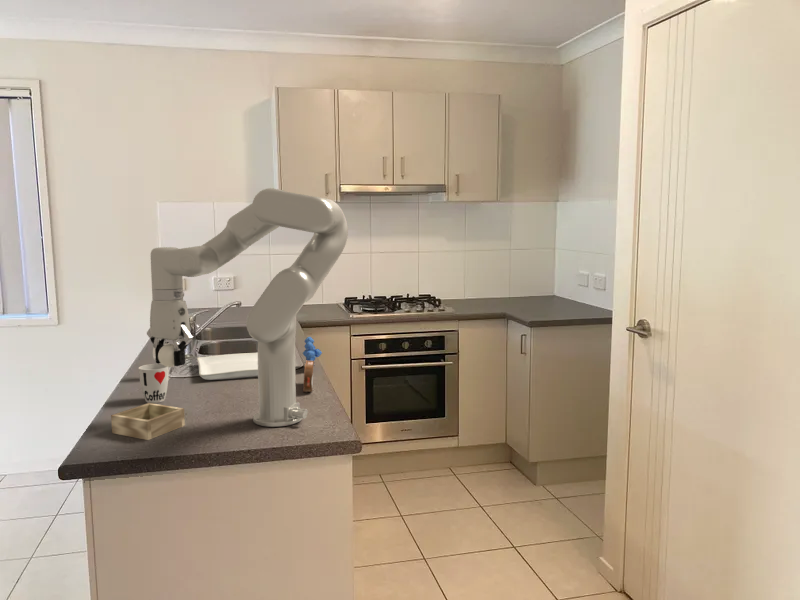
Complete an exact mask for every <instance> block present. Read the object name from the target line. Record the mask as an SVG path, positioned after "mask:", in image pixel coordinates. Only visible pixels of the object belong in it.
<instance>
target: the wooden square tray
mask: <svg viewBox="0 0 800 600" xmlns="http://www.w3.org/2000/svg"><path fill="white" fill-rule="evenodd" d="M185 416H186V414H185V408H183V407H176V406H170V405H164V404H160V403H159V404H157V403H147V402H146V403H145V404H141V405H138V406H136V407H133V408H129V409H126V410H123V411H120V412H117V413H114V414H110V417H111V418H110V420H111V421H110V422H111V434H116V435H120V436H124V437H125V436H126V437H131V438H135V439H141V440H146V441H150V440H152V439H155V438H157V437H160V436H162V435H164V434H167V433H169V432H172V431H176V430H177V429H181V428H183V427H185V426H186V421H185V420H186V419H185V418H186V417H185Z"/></svg>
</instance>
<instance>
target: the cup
mask: <svg viewBox="0 0 800 600" xmlns="http://www.w3.org/2000/svg"><path fill="white" fill-rule="evenodd" d="M169 368H170V367H166V366H164V365H162V364H161V363H159V364H157V363H152V364H151V363H150V364H143V365H141V366H139V367H138V376H139V383H140V389H141V392H142V395H143V397H144V400H145V402H146V404H147V403H153V404H157V403H161V402H164V401H165V400H166V397H167V391H168V385H169V380H168V377H169V373H170V372H169Z"/></svg>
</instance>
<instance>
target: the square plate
mask: <svg viewBox="0 0 800 600" xmlns="http://www.w3.org/2000/svg"><path fill="white" fill-rule="evenodd" d="M196 361H197V364H198V375H199V376H200V377H201V378H202V379H203V380H205V381H217V380H218V381H221V380H235V379H236V380H237V379H245V378H246V379H248V378H258V352H247V353H246V352H245V353H228V354H219V355H218V354H216V355H210V356H209V355H208V356H201V357H200V356H199V357H196Z"/></svg>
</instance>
